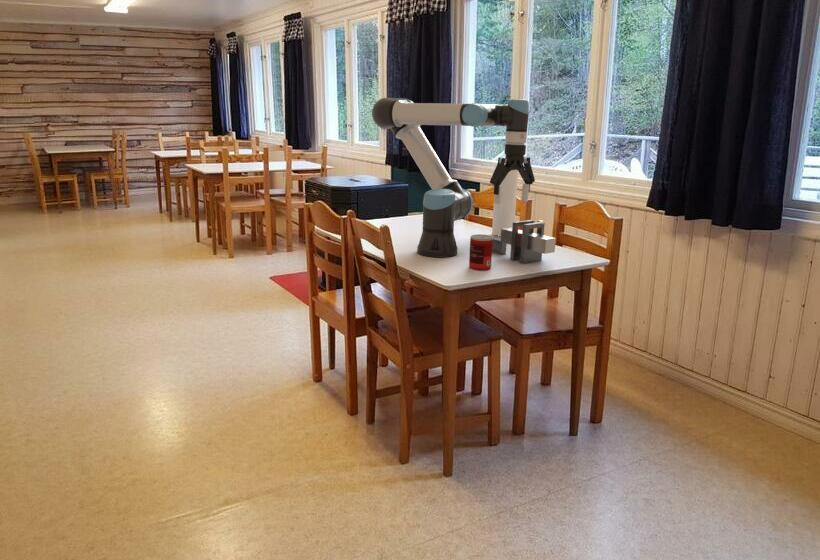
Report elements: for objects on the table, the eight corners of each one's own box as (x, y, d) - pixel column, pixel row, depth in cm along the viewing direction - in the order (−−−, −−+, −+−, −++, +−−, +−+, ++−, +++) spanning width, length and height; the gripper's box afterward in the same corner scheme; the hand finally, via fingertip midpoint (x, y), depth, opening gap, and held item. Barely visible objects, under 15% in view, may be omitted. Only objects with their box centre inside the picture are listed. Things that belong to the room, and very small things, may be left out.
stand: (501, 254, 234) (502, 241, 232) (481, 248, 242) (482, 236, 241) (505, 253, 235) (506, 240, 234) (486, 248, 244) (486, 235, 242)
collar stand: (523, 263, 220) (526, 225, 216) (510, 260, 225) (512, 222, 222) (545, 259, 227) (549, 222, 223) (532, 256, 232) (535, 219, 228)
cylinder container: (515, 237, 266) (520, 166, 258) (493, 236, 266) (497, 165, 258) (512, 232, 275) (516, 164, 267) (490, 232, 275) (495, 163, 267)
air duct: (500, 242, 231) (501, 228, 230) (510, 240, 234) (511, 227, 233) (544, 253, 214) (545, 239, 213) (554, 252, 217) (556, 238, 216)
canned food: (489, 265, 217) (491, 234, 214) (492, 271, 210) (494, 239, 207) (467, 264, 217) (469, 234, 214) (470, 270, 209) (472, 238, 206)
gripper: (496, 144, 213) (492, 206, 219) (547, 144, 227) (542, 201, 233) (482, 143, 219) (478, 202, 225) (533, 142, 233) (528, 199, 238)
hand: (511, 202), depth 229 cm, fingers open, 13 cm apart
